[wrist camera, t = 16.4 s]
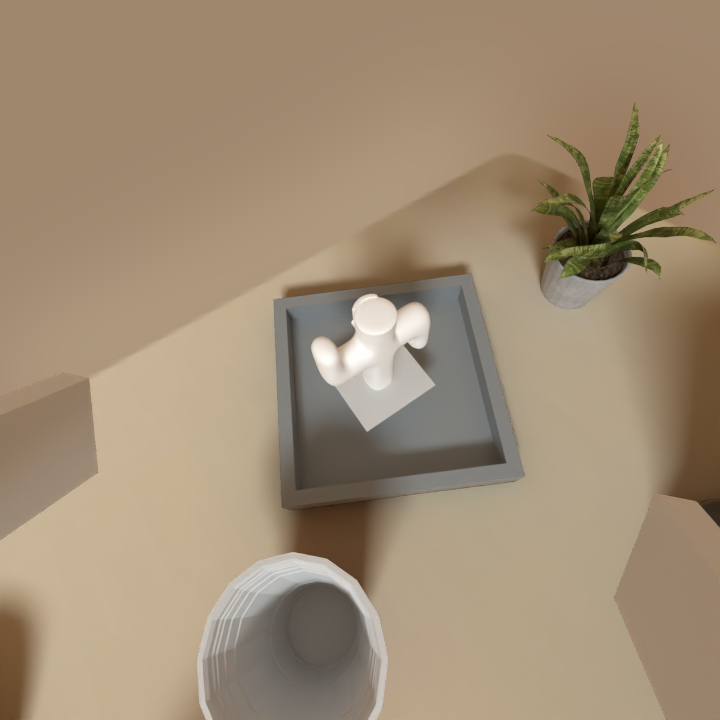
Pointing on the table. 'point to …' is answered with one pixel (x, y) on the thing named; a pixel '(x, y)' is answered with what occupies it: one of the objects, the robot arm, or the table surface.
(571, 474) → the table surface
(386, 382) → the figurine
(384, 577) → the table surface
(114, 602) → the table surface
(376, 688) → the plastic cup
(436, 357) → the tray
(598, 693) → the table surface
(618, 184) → the house plant
